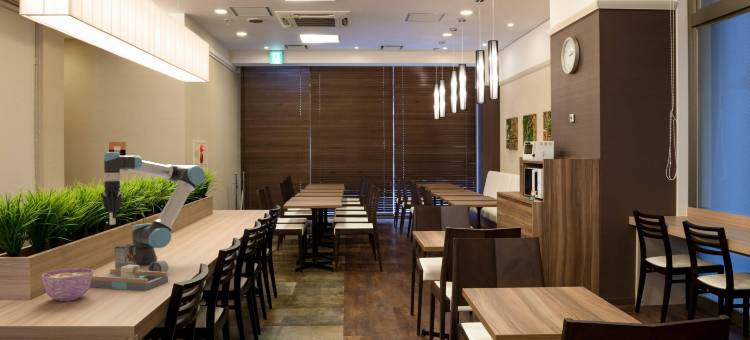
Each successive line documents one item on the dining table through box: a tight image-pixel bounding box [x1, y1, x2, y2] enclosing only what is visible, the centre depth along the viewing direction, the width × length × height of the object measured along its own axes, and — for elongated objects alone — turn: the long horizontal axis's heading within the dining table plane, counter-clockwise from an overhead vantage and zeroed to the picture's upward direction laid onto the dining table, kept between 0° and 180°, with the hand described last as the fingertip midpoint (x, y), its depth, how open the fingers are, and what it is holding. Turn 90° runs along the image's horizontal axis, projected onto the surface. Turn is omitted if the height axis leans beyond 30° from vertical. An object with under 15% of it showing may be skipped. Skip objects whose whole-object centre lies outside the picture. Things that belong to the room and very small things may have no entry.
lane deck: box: [89, 268, 169, 291], centre depth 260 cm, size 18×32×5 cm, turn 77°
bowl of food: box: [41, 267, 94, 302], centre depth 233 cm, size 20×20×12 cm
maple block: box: [121, 265, 141, 278], centre depth 259 cm, size 6×6×6 cm
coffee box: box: [114, 243, 136, 269], centre depth 277 cm, size 9×6×16 cm
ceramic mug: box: [147, 260, 169, 273], centre depth 280 cm, size 11×8×8 cm
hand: (112, 224), depth 283 cm, fingers closed
